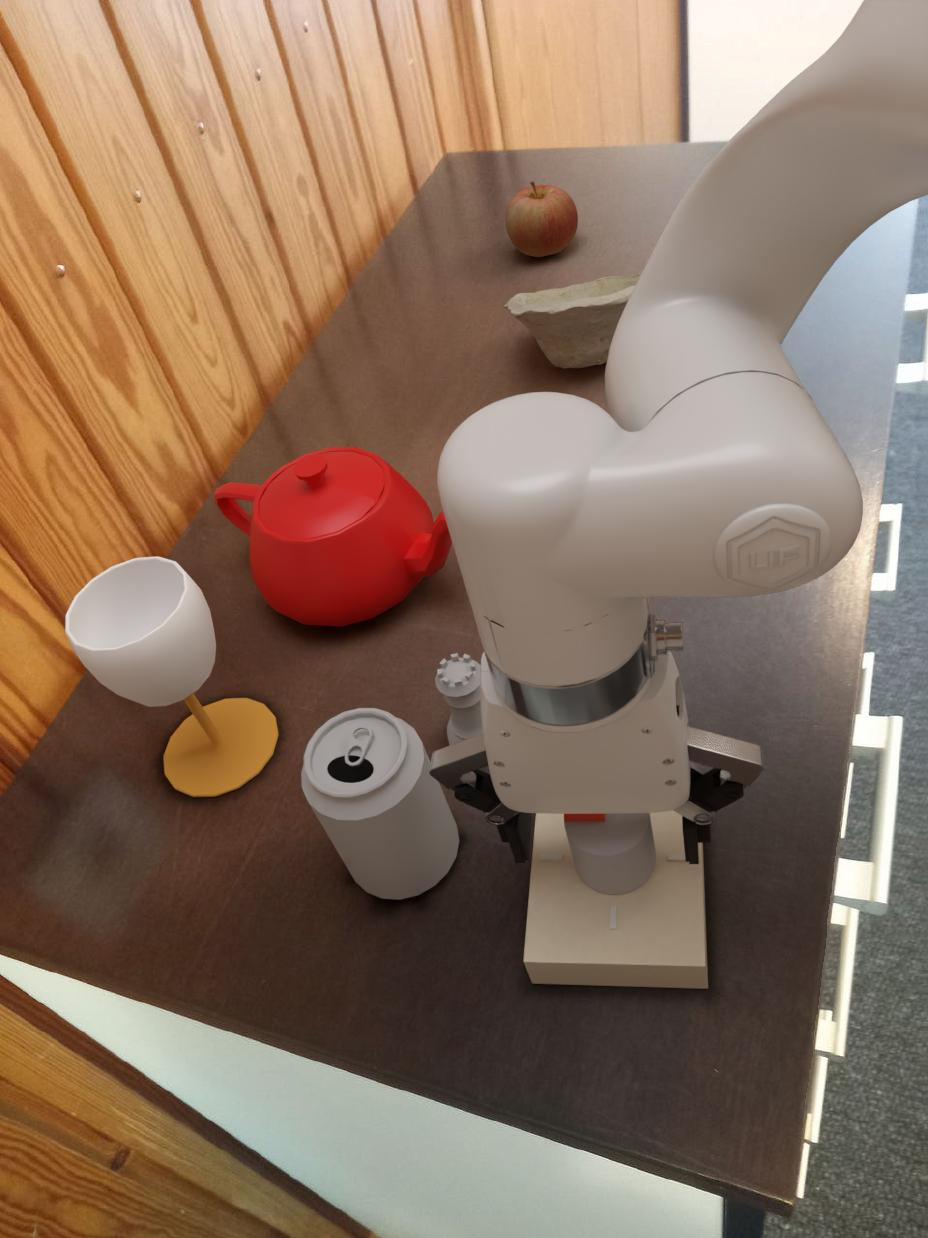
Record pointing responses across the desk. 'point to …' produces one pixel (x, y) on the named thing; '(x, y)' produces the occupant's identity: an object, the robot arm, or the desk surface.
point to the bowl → (575, 318)
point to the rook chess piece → (461, 696)
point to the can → (380, 802)
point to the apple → (541, 220)
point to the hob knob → (612, 850)
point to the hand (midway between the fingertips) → (606, 841)
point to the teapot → (337, 536)
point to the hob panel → (616, 916)
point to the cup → (169, 670)
